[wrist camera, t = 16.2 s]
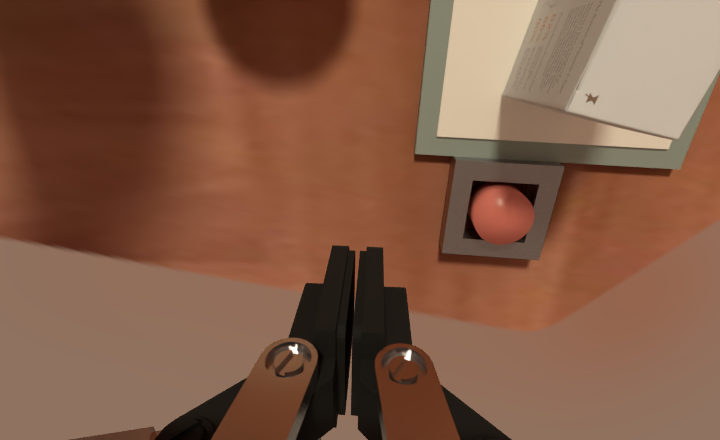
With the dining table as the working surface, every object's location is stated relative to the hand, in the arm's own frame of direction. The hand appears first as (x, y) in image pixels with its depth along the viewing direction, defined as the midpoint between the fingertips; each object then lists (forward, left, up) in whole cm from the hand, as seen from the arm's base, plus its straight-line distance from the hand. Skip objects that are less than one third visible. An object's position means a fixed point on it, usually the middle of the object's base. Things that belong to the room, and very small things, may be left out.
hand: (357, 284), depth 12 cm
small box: (-8, +12, -18) cm, 23 cm away
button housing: (+4, +10, -19) cm, 22 cm away
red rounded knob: (+4, +10, -18) cm, 21 cm away
